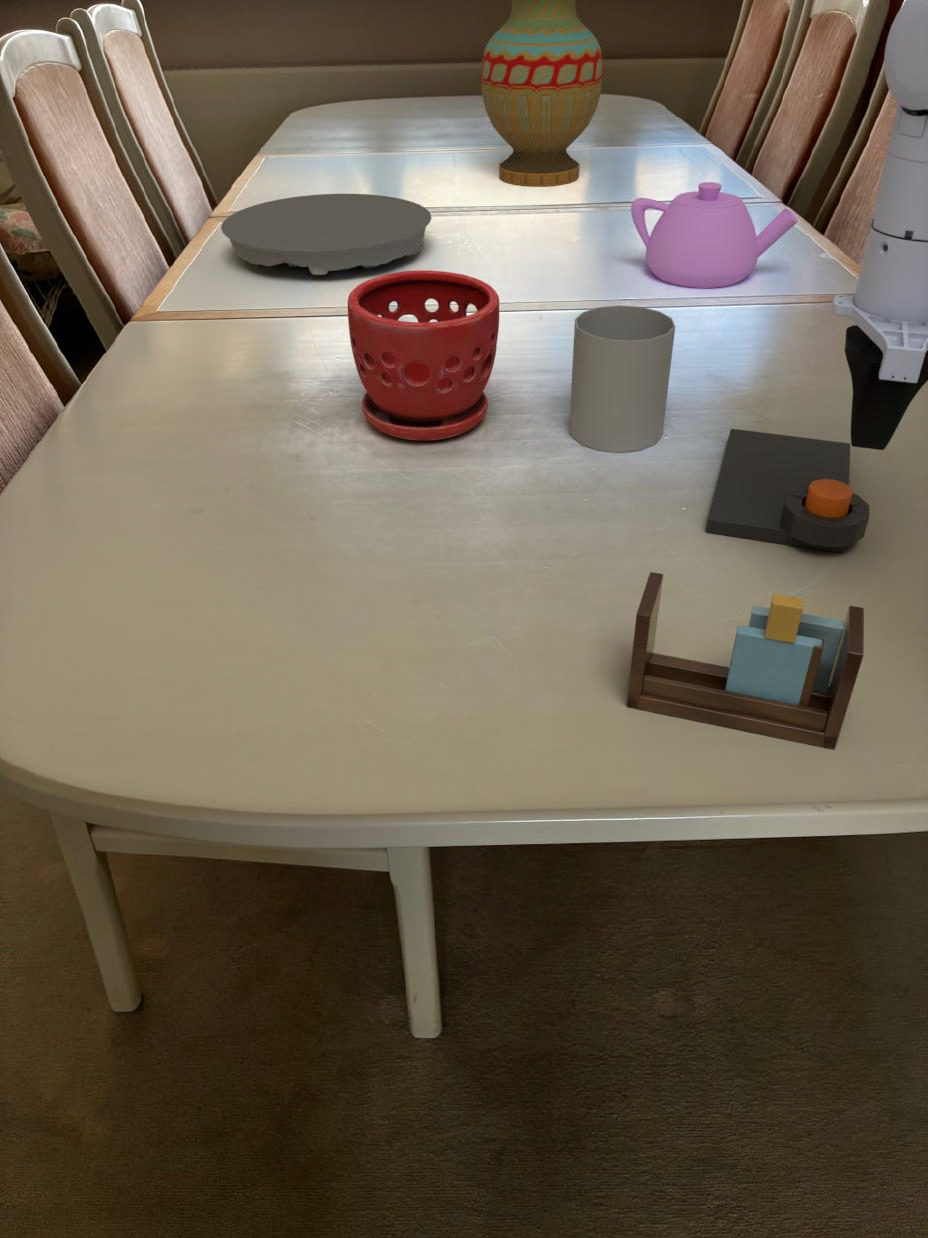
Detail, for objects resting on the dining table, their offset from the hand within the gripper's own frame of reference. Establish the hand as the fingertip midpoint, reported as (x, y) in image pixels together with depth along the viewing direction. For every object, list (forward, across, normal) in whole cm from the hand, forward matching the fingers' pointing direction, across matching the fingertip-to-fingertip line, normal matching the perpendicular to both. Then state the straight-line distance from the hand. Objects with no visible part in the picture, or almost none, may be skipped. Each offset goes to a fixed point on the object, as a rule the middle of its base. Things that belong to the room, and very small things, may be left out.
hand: (867, 443), depth 63 cm
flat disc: (+10, -59, -68) cm, 90 cm away
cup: (+10, -17, -20) cm, 28 cm away
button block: (+10, -10, -5) cm, 15 cm away
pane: (+8, +18, -4) cm, 20 cm away
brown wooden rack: (+10, +17, -6) cm, 20 cm away
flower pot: (+10, -14, -37) cm, 40 cm away
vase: (+10, -109, -52) cm, 121 cm away
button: (+7, -3, -1) cm, 8 cm away
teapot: (+10, -64, -18) cm, 67 cm away
